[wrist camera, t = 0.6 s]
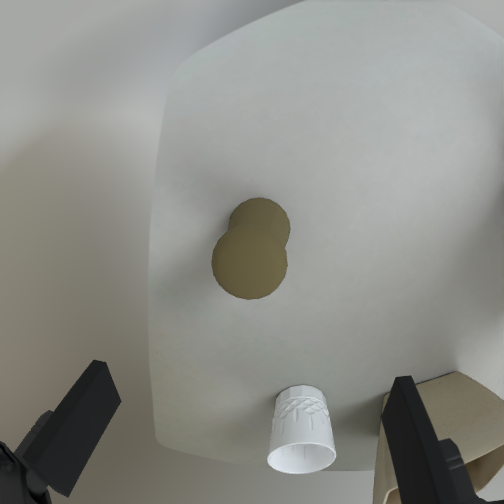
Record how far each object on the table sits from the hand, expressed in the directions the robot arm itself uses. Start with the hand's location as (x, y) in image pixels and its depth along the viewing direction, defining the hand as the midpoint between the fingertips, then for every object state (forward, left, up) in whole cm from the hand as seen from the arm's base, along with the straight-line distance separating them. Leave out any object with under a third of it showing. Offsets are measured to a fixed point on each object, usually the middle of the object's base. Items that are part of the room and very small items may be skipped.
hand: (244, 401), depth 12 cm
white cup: (+13, +18, -20) cm, 29 cm away
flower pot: (+3, +35, -20) cm, 40 cm away
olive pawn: (-1, -2, -20) cm, 20 cm away
